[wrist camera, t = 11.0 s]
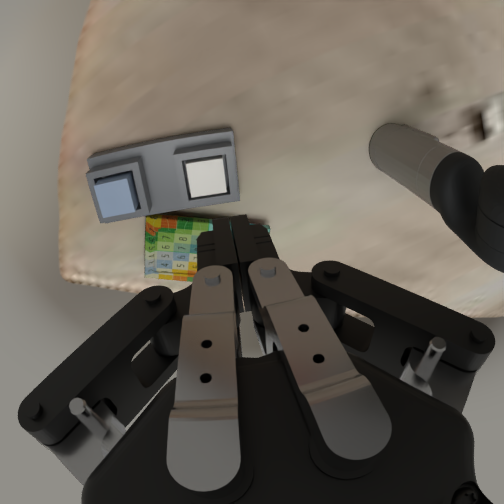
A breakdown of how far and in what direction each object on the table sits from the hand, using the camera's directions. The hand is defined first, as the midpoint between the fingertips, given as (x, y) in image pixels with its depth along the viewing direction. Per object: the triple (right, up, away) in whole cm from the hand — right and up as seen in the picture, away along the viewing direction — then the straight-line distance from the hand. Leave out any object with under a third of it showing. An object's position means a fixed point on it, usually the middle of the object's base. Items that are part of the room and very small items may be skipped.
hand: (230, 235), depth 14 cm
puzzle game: (-8, +1, +41) cm, 41 cm away
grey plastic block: (-13, +12, +32) cm, 37 cm away
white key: (-6, +11, +30) cm, 33 cm away
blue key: (-18, +8, +28) cm, 34 cm away
